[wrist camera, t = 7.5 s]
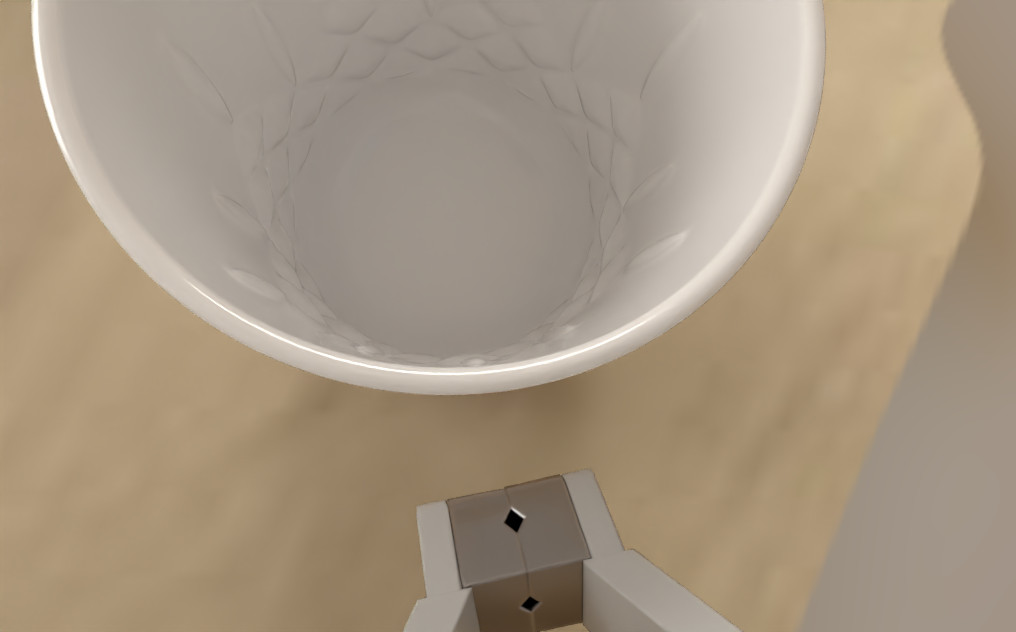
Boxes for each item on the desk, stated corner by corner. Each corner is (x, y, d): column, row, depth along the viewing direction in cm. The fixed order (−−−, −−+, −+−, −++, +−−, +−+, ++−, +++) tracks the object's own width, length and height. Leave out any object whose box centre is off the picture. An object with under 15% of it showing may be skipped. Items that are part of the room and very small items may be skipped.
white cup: (642, 157, 17) (907, -177, 7) (543, 450, 16) (705, 514, 6) (353, 46, 17) (230, -457, 7) (228, 337, 16) (-132, 214, 6)
